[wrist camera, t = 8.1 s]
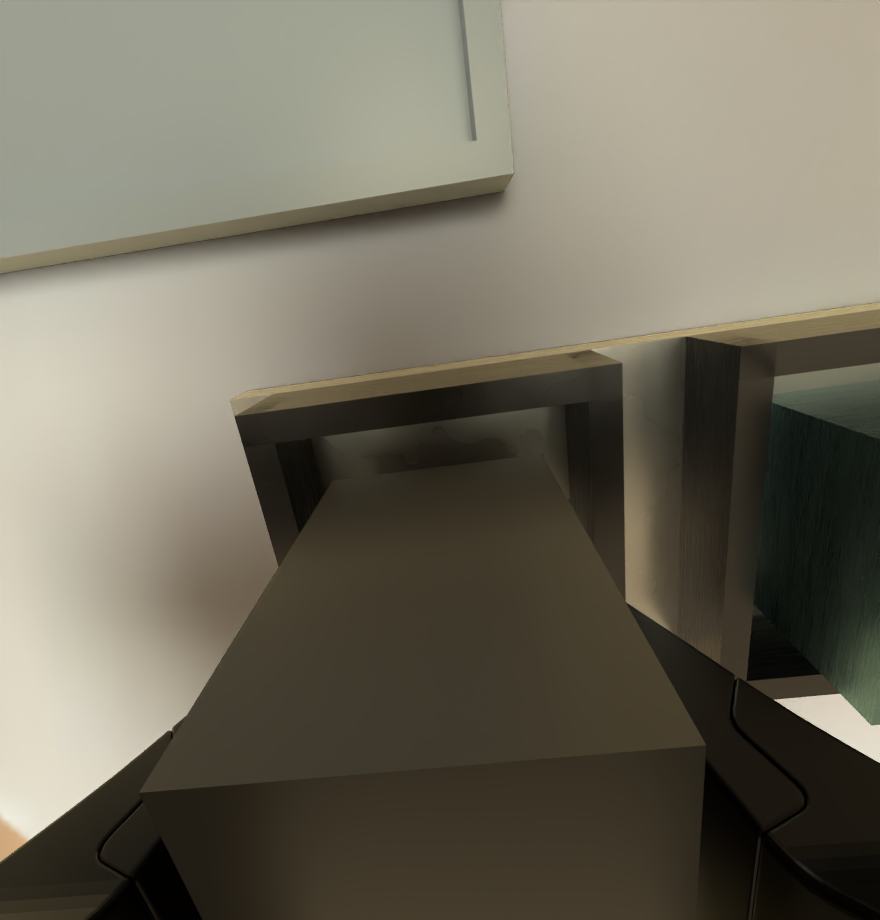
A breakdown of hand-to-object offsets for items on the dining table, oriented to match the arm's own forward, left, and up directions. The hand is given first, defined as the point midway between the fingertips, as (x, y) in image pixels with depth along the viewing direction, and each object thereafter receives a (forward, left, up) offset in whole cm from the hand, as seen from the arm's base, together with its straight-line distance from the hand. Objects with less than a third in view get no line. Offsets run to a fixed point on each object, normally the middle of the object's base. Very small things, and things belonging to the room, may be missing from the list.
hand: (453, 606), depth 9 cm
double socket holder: (-4, 0, -4) cm, 6 cm away
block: (0, 0, -1) cm, 1 cm away
